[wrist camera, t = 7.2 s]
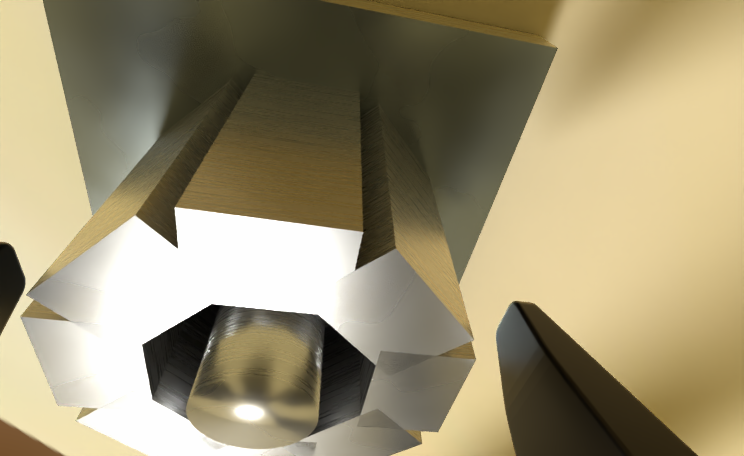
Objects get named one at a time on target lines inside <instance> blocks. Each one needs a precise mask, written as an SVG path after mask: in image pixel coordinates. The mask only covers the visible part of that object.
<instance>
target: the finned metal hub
mask: <svg viewBox="0 0 744 456" xmlns="http://www.w3.org/2000/svg"><path fill="white" fill-rule="evenodd" d="M43 3H44V8H45V12H46V16H47V21H48V25H49V29H50V33H51V38H52V42H53V46H54V51H55V55H56V59H57V64H58V68H59V72H60V77H61V81H62V85H63V90H64V94H65V98H66V102H67V107H68V111H69V115H70V120H71V124H72V128H73V133H74V137H75V141H76V146H77V150H78V154H79V159H80V163H81V167H82V172H83V176H84V180H85V184H86V189H87V193H88V197H89V202H90V206H91V210H92V215H94V214H95V213H96V212H97V211H98V209H99V208H100V207H101V206H102V205H103V204H104V202H105V201H106V200H107V199H108V198H109V196H110V195H111V194H112V193H113V192H114V191H115V189H116V188H117V187H118V186H119V185H120V183H121V182H122V181H123V180H124V179H125V178H126V176H127V175H128V174H129V173H130V172H131V170H132V169H133V168H134V167H135V166H136V165H137V163H138V162H139V161H140V160H141V159H142V157H143V156H144V155H145V154H146V153H147V152H148V150H149V149H150V148H151V147H152V146H153V144H154V143H155V142H156V141H157V140H158V139H159V137H160V136H161V135H162V134H164V133H165V132H166V131H168V130H169V129H170V128H171V127H173V126H174V125H175V124H176V123H178V122H179V121H180V120H181V119H183V118H184V117H185V116H186V115H188V114H189V113H190V112H191V111H193V110H194V109H195V108H196V107H198V106H199V105H200V104H201V103H203V102H204V101H205V100H206V99H208V98H209V97H210V96H211V95H213V94H214V93H215V92H217V91H218V90H219V89H220V88H222V87H223V86H224V85H225V84H227V83H228V82H229V81H230V80H233V81H234V82H235V83H236V84H237V86H238V87H239V88H240V89H241V90H242V91H243V92H244V91H245V89H246V87H247V86H248V84H249V82H250V81H251V79H252V77H253V76H254V74H257V75H263V76H269V77H274V78H280V79H286V80H291V81H297V82H303V83H309V84H314V85H320V86H326V87H331V88H337V89H343V90H349V91H354V92H360V117H361V116H362V115H364V114H365V113H367V112H368V111H370V110H371V109H373V108H374V107H376V106H377V105H379V106H380V107H381V109H382V110H383V111H384V113H385V114H386V116H387V117H388V119H389V120H390V121H391V123H392V124H393V126H394V127H395V129H396V130H397V131H398V133H399V134H400V136H401V137H402V139H403V140H404V142H405V143H406V144H407V146H408V147H409V149H410V150H411V152H412V153H413V154H414V156H415V157H416V159H417V160H418V162H419V163H420V164H421V166H422V167H423V169H424V170H425V172H426V173H427V174H428V176H429V178H430V182H431V186H432V189H433V193H434V197H435V200H436V204H437V208H438V211H439V215H440V218H441V222H442V226H443V229H444V233H445V237H446V240H447V244H448V248H449V251H450V255H451V259H452V262H453V266H454V269H455V273H456V277H457V280H458V284H459V283H460V280H461V278H462V276H463V273H464V271H465V268H466V266H467V264H468V261H469V259H470V256H471V254H472V252H473V249H474V247H475V244H476V242H477V240H478V237H479V235H480V233H481V230H482V228H483V225H484V223H485V221H486V218H487V216H488V213H489V211H490V209H491V206H492V204H493V202H494V199H495V197H496V194H497V192H498V190H499V187H500V185H501V182H502V180H503V178H504V175H505V173H506V171H507V168H508V166H509V163H510V161H511V159H512V156H513V154H514V151H515V149H516V147H517V144H518V142H519V139H520V137H521V135H522V132H523V130H524V128H525V125H526V123H527V120H528V118H529V116H530V113H531V111H532V108H533V106H534V104H535V101H536V99H537V97H538V94H539V92H540V89H541V87H542V85H543V82H544V80H545V77H546V75H547V73H548V70H549V68H550V66H551V63H552V61H553V58H554V56H555V54H556V51H557V49H558V48H557V47H555V46H554V45H552V44H551V43H550V42H548V41H547V40H545V39H544V38H542V37H541V36H539V35H535V34H530V33H525V32H520V31H515V30H511V29H506V28H501V27H496V26H491V25H486V24H481V23H476V22H471V21H467V20H462V19H457V18H452V17H447V16H442V15H437V14H432V13H427V12H423V11H418V10H413V9H408V8H403V7H398V6H393V5H388V4H383V3H379V2H374V1H369V0H43ZM324 331H325V320H324V319H323V318H322V317H321V316H319V315H318V314H308V313H299V312H289V311H279V310H270V309H260V308H250V307H241V306H231V305H222V304H220V307H219V310H218V313H217V316H216V319H215V322H214V325H213V328H212V331H211V334H210V337H209V340H208V343H207V346H206V349H205V352H204V355H203V358H202V361H201V364H200V366H199V369H198V372H197V375H196V378H195V381H194V384H193V387H192V390H191V393H190V396H189V399H188V402H187V406H186V414H187V417H188V420H189V421H190V423H191V424H192V426H193V427H194V428H195V429H196V430H198V431H199V432H200V433H202V434H203V435H205V436H206V437H208V438H210V439H212V440H214V441H217V442H220V443H222V444H226V445H229V446H234V447H239V448H247V449H271V448H279V447H284V446H288V445H291V444H294V443H296V442H298V441H301V440H302V439H304V438H306V437H307V436H308V435H309V434H311V433H312V431H313V430H314V429H315V427H316V426H317V423H318V416H319V402H320V388H321V374H322V360H323V346H324Z"/></svg>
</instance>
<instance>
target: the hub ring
mask: <svg viewBox="0 0 744 456" xmlns="http://www.w3.org/2000/svg"><path fill="white" fill-rule="evenodd" d="M27 296H29V297H30V298H32V299H34V301H33V302H32V303H31V304H30V305H29V307H28V308H27V309H26V310H25V312H24V313H23V314H22V315H21V320H22V322H23V324H24V327H25V329H26V331H27V334H28V336H29V339H30V341H31V343H32V346H33V348H34V350H35V353H36V355H37V358H38V360H39V362H40V365H41V367H42V369H43V372H44V374H45V377H46V379H47V381H48V384H49V386H50V388H51V391H52V393H53V396H54V398H55V400H56V403H57V405H58V406H69V407H83V409H82V410H81V412H80V414H79V416H78V418H77V420H76V421H77V422H79V423H81V424H83V425H85V426H87V427H89V428H91V429H93V430H96V431H98V432H100V433H102V434H104V435H106V436H108V437H110V438H113V439H115V440H117V441H119V442H121V443H123V444H125V445H127V446H130V447H132V448H134V449H136V450H138V451H140V452H142V453H144V454H147V455H149V456H390V455H392V454H395V453H398V452H401V451H403V450H406V449H409V448H412V447H414V446H417V445H420V444H422V439H421V431H429V432H438V431H439V429H440V427H441V425H442V423H443V422H444V420H445V418H446V416H447V414H448V412H449V410H450V408H451V406H452V404H453V402H454V401H455V399H456V397H457V395H458V393H459V391H460V389H461V387H462V385H463V383H464V382H465V380H466V378H467V376H468V374H469V372H470V370H471V368H472V366H473V364H474V362H475V361H476V358H475V354H474V350H473V347H472V343H471V341H473V340H474V339H473V335H472V331H471V328H470V324H469V320H468V317H467V313H466V310H465V306H464V302H463V299H462V295H461V291H460V288H459V284H458V280H457V277H456V273H455V269H454V266H453V262H452V259H451V255H450V251H449V248H448V244H447V240H446V237H445V233H444V229H443V226H442V222H441V218H440V215H439V211H438V208H437V204H436V200H435V197H434V193H433V189H432V186H431V182H430V178H429V176H428V174H427V173H426V172H425V170H424V169H423V167H422V166H421V164H420V163H419V162H418V160H417V159H416V157H415V156H414V154H413V153H412V152H411V150H410V149H409V147H408V146H407V144H406V143H405V142H404V140H403V139H402V137H401V136H400V134H399V133H398V131H397V130H396V129H395V127H394V126H393V124H392V123H391V121H390V120H389V119H388V117H387V116H386V114H385V113H384V111H383V110H382V109H381V107H380V106H379V105H377V106H376V107H374V108H373V109H371V110H370V111H368V112H367V113H365V114H364V115H362V116H361V117H360V92H354V91H349V90H343V89H337V88H331V87H326V86H320V85H314V84H309V83H303V82H297V81H291V80H286V79H280V78H274V77H269V76H263V75H257V74H254V76H253V77H252V79H251V81H250V82H249V84H248V86H247V87H246V89H245V91H244V92H243V91H242V90H241V89H240V88H239V87H238V86H237V84H236V83H235V82H234V81H233V80H230V81H229V82H228V83H227V84H225V85H224V86H223V87H222V88H220V89H219V90H218V91H217V92H215V93H214V94H213V95H211V96H210V97H209V98H208V99H206V100H205V101H204V102H203V103H201V104H200V105H199V106H198V107H196V108H195V109H194V110H193V111H191V112H190V113H189V114H188V115H186V116H185V117H184V118H183V119H181V120H180V121H179V122H178V123H176V124H175V125H174V126H173V127H171V128H170V129H169V130H168V131H166V132H165V133H164V134H162V135H161V136H160V137H159V139H158V140H157V141H156V142H155V143H154V144H153V146H152V147H151V148H150V149H149V150H148V152H147V153H146V154H145V155H144V156H143V157H142V159H141V160H140V161H139V162H138V163H137V165H136V166H135V167H134V168H133V169H132V170H131V172H130V173H129V174H128V175H127V176H126V178H125V179H124V180H123V181H122V182H121V183H120V185H119V186H118V187H117V188H116V189H115V191H114V192H113V193H112V194H111V195H110V196H109V198H108V199H107V200H106V201H105V202H104V204H103V205H102V206H101V207H100V208H99V209H98V211H97V212H96V213H95V214H94V215H93V217H92V218H91V219H90V220H89V221H88V222H87V224H86V225H85V226H84V227H83V228H82V230H81V231H80V232H79V233H78V234H77V235H76V237H75V238H74V239H73V240H72V241H71V243H70V244H69V245H68V246H67V247H66V248H65V250H64V251H63V252H62V253H61V254H60V256H59V257H58V258H57V259H56V260H55V261H54V263H53V264H52V265H51V266H50V267H49V269H48V270H47V271H46V272H45V273H44V274H43V276H42V277H41V278H40V279H39V280H38V282H37V283H36V284H35V285H34V286H33V287H32V289H31V290H30V291H29V292H28V293H27ZM220 304H222V305H231V306H241V307H250V308H260V309H270V310H279V311H289V312H299V313H308V314H318V315H319V316H321V317H322V318H323V319H324V320H325V331H324V346H323V360H322V374H321V388H320V402H319V416H318V423H317V426H316V427H315V429H314V430H313V431H312V433H311V434H309V435H308V436H307V437H306V438H304V439H302V440H301V441H298V442H296V443H294V444H291V445H288V446H284V447H279V448H271V449H247V448H239V447H234V446H229V445H226V444H222V443H220V442H217V441H214V440H212V439H210V438H208V437H206V436H205V435H203V434H202V433H200V432H199V431H198V430H196V429H195V428H194V427H193V426H192V424H191V423H190V421H189V420H188V417H187V414H186V406H187V402H188V399H189V396H190V393H191V390H192V387H193V384H194V381H195V378H196V375H197V372H198V369H199V366H200V364H201V361H202V358H203V355H204V352H205V349H206V346H207V343H208V340H209V337H210V334H211V331H212V328H213V325H214V322H215V319H216V316H217V313H218V310H219V307H220Z"/></svg>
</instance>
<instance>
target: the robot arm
mask: <svg viewBox="0 0 744 456" xmlns="http://www.w3.org/2000/svg"><path fill="white" fill-rule="evenodd" d="M24 288H25V276H24V273H23V270H22V268H21V265H20V263H19V260H18V257H17V255H16V252H15V250H14V248H13V247H12V246H11V245H10V244H9V243H6V242H0V335H1V333H2V331H3V329H4V327H5V326H6V324H7V322H8V320H9V318H10V316H11V314H12V312H13V310H14V309H15V307H16V305H17V303H18V301H19V299H20V297H21V295H22V293H23V291H24ZM496 343H497V351H498V358H499V366H500V374H501V382H502V389H503V397H504V404H505V410H506V415H507V420H508V424H509V429H510V433H511V437H512V441H513V445H514V449H515V454H516V456H698V455H697V454H696V453H694V452H693V451H692V450H691V449H690V448H689V447H688V446H687V445H686V444H685V443H684V442H683V441H682V440H681V439H679V438H678V437H677V436H676V435H675V434H674V433H673V432H672V431H671V430H670V429H669V428H668V427H667V426H666V425H664V424H663V423H662V422H661V421H660V420H659V419H658V418H657V417H656V416H655V415H654V414H653V413H652V412H650V411H649V410H648V409H647V408H646V407H645V406H644V405H643V404H642V403H641V402H640V401H639V400H638V399H637V398H635V397H634V396H633V395H632V394H631V393H630V392H629V391H628V390H627V389H626V388H625V387H624V386H623V385H622V384H620V383H619V382H618V381H617V380H616V379H615V378H614V377H613V376H612V375H611V374H610V373H609V372H608V371H606V370H605V369H604V368H603V367H602V366H601V365H600V364H599V363H598V362H597V361H596V360H595V359H594V358H593V357H591V356H590V355H589V354H588V353H587V352H586V351H585V350H584V349H583V348H582V347H581V346H580V345H579V344H577V343H576V342H575V341H574V340H573V339H572V338H571V337H570V336H569V335H568V334H567V333H566V332H565V331H564V330H562V329H561V328H560V327H559V326H558V325H557V324H556V323H555V322H554V321H553V320H552V319H551V318H550V317H549V316H547V315H546V314H545V313H544V312H543V311H542V310H541V309H540V308H539V307H538V306H537V305H535V304H534V303H530V302H521V301H514V302H512V303H511V304H510V305H509V307H508V309H507V311H506V313H505V315H504V317H503V318H502V320H501V322H500V324H499V326H498V328H497V332H496Z"/></svg>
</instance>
